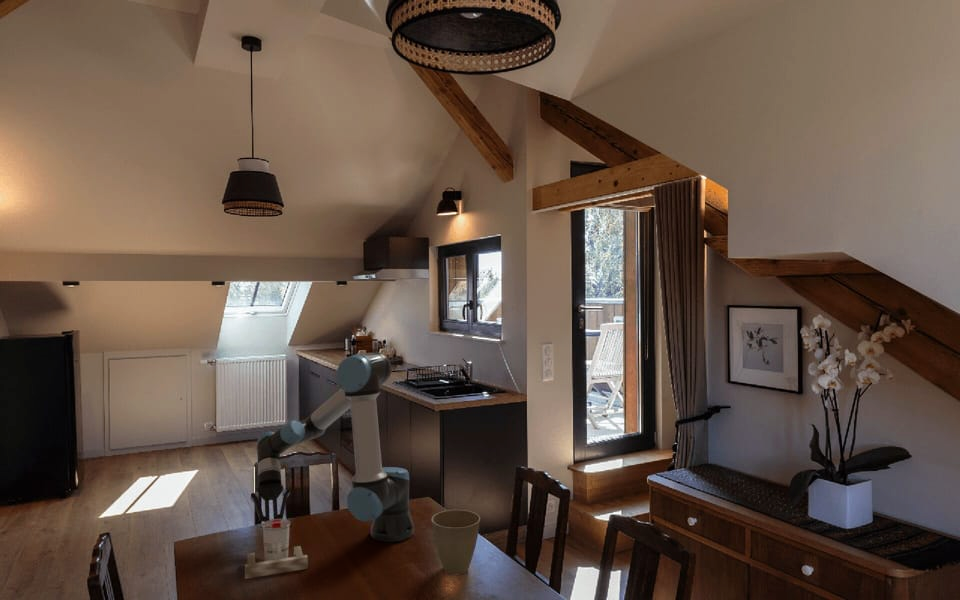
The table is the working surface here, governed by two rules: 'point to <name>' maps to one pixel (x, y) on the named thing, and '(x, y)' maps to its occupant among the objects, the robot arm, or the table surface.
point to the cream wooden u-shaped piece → (276, 564)
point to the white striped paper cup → (276, 539)
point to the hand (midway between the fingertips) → (272, 540)
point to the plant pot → (455, 538)
